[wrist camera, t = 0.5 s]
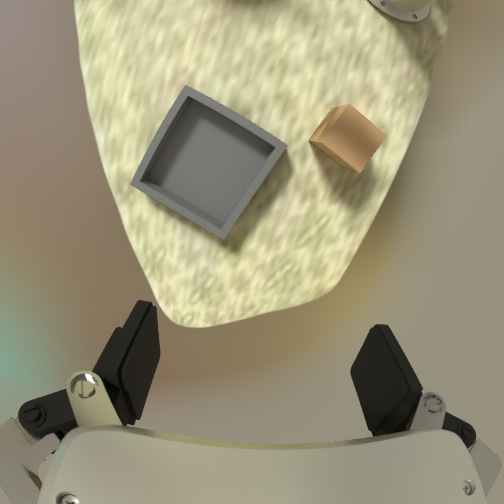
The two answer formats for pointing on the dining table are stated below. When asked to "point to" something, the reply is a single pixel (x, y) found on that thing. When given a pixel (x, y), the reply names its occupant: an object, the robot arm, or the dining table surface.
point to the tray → (206, 161)
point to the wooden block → (348, 137)
